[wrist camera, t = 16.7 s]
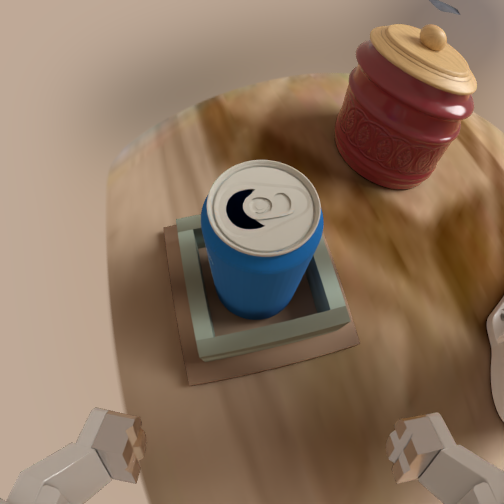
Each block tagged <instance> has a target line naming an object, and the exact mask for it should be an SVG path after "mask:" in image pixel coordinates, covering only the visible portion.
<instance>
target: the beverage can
mask: <svg viewBox="0 0 504 504" xmlns="http://www.w3.org/2000/svg"><path fill="white" fill-rule="evenodd" d="M201 229H202V233H203V237H204V242H205V246H206V251H207V255H208V259H209V264H210V268H211V272H212V276H213V280H214V285H215V289H216V292H217V295H218V297H219V299H220V301H221V303H222V304H223V305H224V306H225V307H226V308H227V309H228V310H229V311H230V312H232V313H233V314H235V315H237V316H239V317H241V318H245V319H250V320H262V319H267V318H270V317H272V316H275V315H276V314H278V313H280V312H281V311H282V310H283V309H284V308H285V307H286V306H287V305H288V304H289V302H290V301H291V299H292V297H293V295H294V293H295V291H296V289H297V287H298V285H299V283H300V281H301V279H302V277H303V275H304V273H305V271H306V269H307V267H308V265H309V263H310V261H311V259H312V257H313V255H314V253H315V251H316V249H317V246H318V244H319V242H320V240H321V237H322V233H323V214H322V210H321V205H320V199H319V196H318V194H317V191H316V189H315V188H314V186H313V185H312V183H311V182H310V181H309V180H308V178H307V177H305V176H304V175H303V174H302V173H301V172H299V171H298V170H296V169H295V168H293V167H291V166H289V165H286V164H284V163H280V162H276V161H271V160H252V161H247V162H243V163H240V164H237V165H235V166H233V167H231V168H229V169H228V170H226V171H225V172H224V173H222V174H221V175H220V176H219V177H218V178H217V179H216V181H215V182H214V183H213V185H212V187H211V189H210V191H209V194H208V196H207V198H206V199H205V202H204V204H203V208H202V212H201Z"/></svg>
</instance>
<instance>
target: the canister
mask: <svg viewBox="0 0 504 504" xmlns="http://www.w3.org/2000/svg"><path fill="white" fill-rule="evenodd" d="M370 39H371V40H369V41H366V42H363V43H362V44H360V45H359V46H358V48H357V50H356V58H357V61H358V66H357V67H355V68H354V69H353V70H352V72H351V73H350V75H349V85H348V88H347V92H346V95H345V98H344V102H343V105H342V108H341V110H340V112H339V114H338V116H337V120H336V123H335V142H336V146H337V148H338V151H339V153H340V154H341V156H342V157H343V159H344V160H345V161H346V162H347V164H348V165H349V166H350V167H351V168H352V169H353V170H355V171H356V172H357V173H358V174H360V175H361V176H363V177H364V178H366V179H368V180H369V181H371V182H373V183H375V184H378V185H380V186H383V187H387V188H391V189H410V188H413V187H416V186H418V185H419V184H421V183H422V182H423V181H425V180H426V179H427V178H428V177H429V176H430V175H431V174H432V172H433V171H434V169H435V168H436V165H437V162H438V161H439V160H440V158H441V157H442V155H443V154H444V152H445V151H446V149H447V148H448V146H449V145H450V143H451V142H452V141H453V140H454V139H455V138H456V137H457V136H458V134H459V132H460V122H461V120H463V119H466V118H468V117H469V116H470V115H471V114H472V113H473V110H474V102H473V98H472V95H471V94H472V93H474V92H475V91H476V88H477V83H476V79H475V77H474V75H473V74H472V72H471V71H470V69H469V66H468V64H467V62H466V61H465V59H464V58H463V57H462V56H461V55H460V54H459V53H458V52H457V51H456V50H455V49H454V48H453V47H451V46H450V45H449V44H447V37H446V34H445V32H444V31H443V30H442V29H441V28H440V27H438V26H436V25H432V24H430V25H426V26H424V27H423V28H422V29H418V28H415V27H412V26H408V25H403V24H394V25H390V26H381V27H377V28H375V29H373V30H372V31H371V33H370Z"/></svg>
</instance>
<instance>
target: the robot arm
mask: <svg viewBox="0 0 504 504" xmlns="http://www.w3.org/2000/svg"><path fill="white" fill-rule="evenodd" d="M500 316H501V317H500ZM487 332H488V336H489V340H490V344H491V350H492V359H491V387H492V394H493V399H494V403H495V406H496V409H497V412H498V414H499V416H500V418H501V419H502V421H503V422H504V296H503V298H502V299H501V300H500V302H499V303H498V305H497V306H496V307H495V309H494V310H493V311H492V313H491V314H490V315H489V317H488V319H487ZM141 425H142V422H141V419H140V417H138V416H133V415H128V414H123V413H118V412H114V411H110V410H105V409H101V408H97V407H95V408H94V409H93V410H92V411H91V413H90V415H89V417H88V419H87V421H86V423H85V425H84V427H83V429H82V431H81V433H80V435H79V437H78V439H77V442H76V443H70V444H69V445H67V446H65V447H63V448H62V449H60V450H58V451H57V452H55V453H53V454H52V455H50V456H48V457H47V458H45V459H43V460H41V461H39V462H38V463H36V464H34V465H32V466H31V467H29V468H27V469H25V470H23V471H22V472H20V474H19V476H18V479H17V480H16V482H15V484H14V486H13V488H12V490H11V492H10V495H9V497H8V499H7V501H5V500H3V499H1V498H0V504H84V503H85V502H86V501H88V500H89V499H90V498H91V497H93V496H94V495H95V494H96V493H97V492H98V491H100V490H101V489H102V488H103V487H104V486H106V485H107V484H108V483H109V482H110V481H111V480H112V479H116V480H120V481H125V482H130V483H135V484H136V483H137V480H138V476H139V473H140V469H141V467H140V465H139V462H138V461H139V460H141V459H142V458H144V455H145V451H146V443H147V442H146V435H145V432H144V431H143V430H142V429H141ZM394 427H395V431H393V432H392V433H391V434H389V437H388V439H387V442H386V453H387V456H388V459H389V460H391V461H392V462H393V463H394V464H393V467H392V472H393V475H394V478H395V481H396V484H397V483H402V482H407V481H412V480H416V479H418V481H419V482H420V483H421V484H422V485H423V486H424V487H426V488H427V489H428V490H429V491H430V492H431V493H432V494H433V495H434V496H436V497H437V498H438V499H439V500H440V501H441V502H442V503H443V504H504V471H502V470H501V469H499V468H497V467H496V466H494V465H492V464H491V463H489V462H487V461H486V460H484V459H483V458H481V457H479V456H478V455H476V454H474V453H473V452H471V451H470V450H468V449H466V448H465V447H463V446H462V445H456V443H455V441H454V439H453V437H452V435H451V433H450V431H449V429H448V428H447V426H446V424H445V422H444V420H443V418H442V416H441V415H440V414H439V413H438V412H436V413H431V414H426V415H419V416H413V417H408V418H402V419H399V420H398V421H396V423H395V425H394Z"/></svg>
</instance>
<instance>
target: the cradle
mask: <svg viewBox="0 0 504 504" xmlns="http://www.w3.org/2000/svg"><path fill="white" fill-rule="evenodd" d="M176 224H177V225H173V226H169V227H164V236H165V244H166V252H167V260H168V267H169V274H170V281H171V288H172V294H173V301H174V307H175V313H176V319H177V325H178V330H179V336H180V341H181V347H182V352H183V357H184V362H185V367H186V372H187V377H188V382H189V386H193V385H199V384H204V383H210V382H215V381H220V380H225V379H230V378H235V377H240V376H244V375H249V374H253V373H258V372H262V371H266V370H270V369H275V368H279V367H283V366H287V365H290V364H294V363H298V362H302V361H305V360H309V359H313V358H316V357H320V356H323V355H327V354H330V353H333V352H337V351H340V350H343V349H346V348H350V347H353V346H356V345H358V344H360V342H359V338H358V335H357V332H356V328H355V325H354V322H353V318H352V315H351V312H350V309H349V306H348V303H347V300H346V296H345V293H344V290H343V287H342V284H341V281H340V278H339V275H338V272H337V269H336V267H335V264H334V261H333V258H332V255H331V252H330V249H329V247H328V244H327V241H326V238H325V235H324V233H322V237H321V240H320V242H319V244H318V246H317V249H316V251H315V253H314V255H313V257H312V259H311V261H310V263H309V265H308V267H307V269H306V271H305V273H304V275H303V277H302V279H301V281H300V283H299V285H298V287H297V289H296V291H295V293H294V295H293V297H292V299H291V301H290V302H289V304H288V305H287V306H286V307H285V308H284V309H283V310H282V311H281V312H280V313H278V314H276V315H275V316H272V317H270V318H267V319H262V320H250V319H245V318H241V317H239V316H237V315H235V314H233V313H232V312H230V311H229V310H228V309H227V308H226V307H225V306H224V305H223V304H222V303H221V301H220V299H219V297H218V295H217V292H216V289H215V285H214V280H213V276H212V272H211V268H210V264H209V259H208V255H207V251H206V246H205V242H204V237H203V233H202V229H201V214H200V215H195V216H190V217H185V218H180V219H176Z"/></svg>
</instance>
